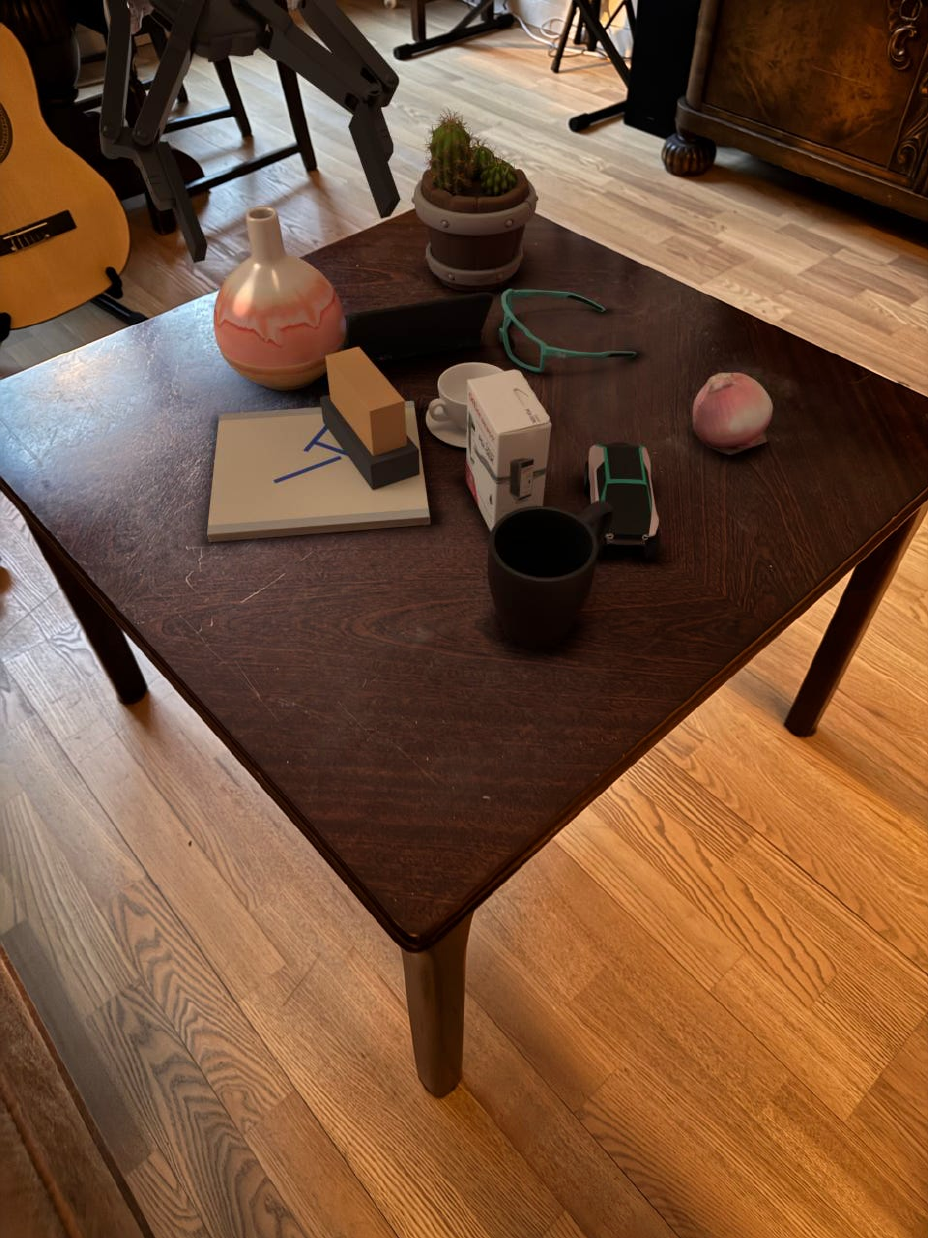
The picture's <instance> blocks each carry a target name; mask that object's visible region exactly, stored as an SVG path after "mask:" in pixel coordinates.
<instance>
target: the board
mask: <svg viewBox="0 0 928 1238" xmlns="http://www.w3.org/2000/svg"><path fill="white" fill-rule="evenodd" d="M405 416H406V434H407V436H408V437H409V438H410V439H411V440H412V442H413V443H414V444H415V445H416V447H417V448H418V449H419V468H420V474H419V475H416V476H413V477H410V478H407V479H404V480H401V481H398V482H395V483H393V484H390V485H387V486H384V487H381V488H378V489H375V490H372V489H371V487H370V486H369V485H368V483H367V482H366V480H365V479H364V478H363V476H362V475H361V474H360V472H359V471H358V469H357V468H356V467H355V465H354V464H353V463H352V461H351V460H350V458H349V457H348V456H347V454H346V453H345V452H344V450H343V449H342V447H341V446H340V445H339V443H338V442H337V441H336V439H335V438H334V436H333V435H332V434H331V432H330V431H329V430H328V428H327V427H326V425H325V424H324V423H323V418H322V410H321V406H318V407H316V406H315V407H303V408H290V409H289V408H288V409H277V410H276V409H273V410H260V411H259V410H258V411H257V410H256V411H245V412H230V413H219V414H218V425H217V434H216V435H217V436H216V445H215V454H214V463H213V464H214V465H213V472H212V473H213V475H212V484H211V491H210V492H211V493H210V501H209V502H210V503H209V511H208V512H209V513H208V521H207V531H206V535H207V539H208V542H209V543H213V542H226V541H238V540H252V539H265V538H279V537H290V536H300V535H301V536H302V535H313V534H326V533H338V532H340V533H341V532H350V531H351V532H352V531H362V530H376V529H388V528H401V527H402V528H403V527H413V526H427V525H431V515H430V508H429V501H428V494H427V485H426V479H425V473H424V466H423V459H422V451H421V444H420V443H421V442H420V438H419V430H418V423H417V416H416V408H415V402H414V400H407V401H406V400H405Z"/></svg>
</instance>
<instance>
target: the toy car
mask: <svg viewBox="0 0 928 1238" xmlns="http://www.w3.org/2000/svg"><path fill="white" fill-rule="evenodd" d="M583 469H584V471H583V489H584V491H587V492H589V493H590V495H589V497H590V504H592V503H594V502H595V501H598V500H604V501H606V502H608V503H609V504H610V505H611V506H612V509H613V518H612V522H611V525H610V527H609V530H608V532H607V534H606V537H605V539H604V541H603V543H602V545H601V547H600V549H599V551H598V554H597V558H598V557H601V556H602V555H603V550H604V549H603V548H604V546H606V545H613V546H614V545H615V546H617V545H618V546H637V545H638V546H641V547H642V551H643V557H644V558H647V559H656V558H657V557H658V556H659V552H660V547H661V534H660V533H661V532H660V528H659V522H660V518H659V515H658V512H657V509H656V503H655V497H654V491H653V490H654V489H653V485H652V478H651V475H652V473H651V472H652V468H651V460H650V455H649V453H648V450H647V448H646V447H645V446H644V445H641V444H640V445H639V444H637V445H635V444H634V445H632V444H630V443H627V442H625V441H613V442H610V443H607V444H598V443H596V444H593V445H592V446H591V447H590V448H589V451H588V460H586V461H585V464H584V468H583ZM590 527H591V528H592V527H593V524H591V525H590Z"/></svg>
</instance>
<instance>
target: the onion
mask: <svg viewBox="0 0 928 1238" xmlns="http://www.w3.org/2000/svg"><path fill="white" fill-rule="evenodd" d="M773 411H774V406H773V402H772V399H771V397H770V395H769V393H768V392H767V391H766V389H765V388H764V387H763V386H762V385H761V384H760V383H759V382H758V381H757V380H755V379H754V378H753V377H751V376H749V375H747V374H745V373H742V372H719V373H716V374H715V375H712V376H710V377H709V379H708V380H707V381H706V383H705V384H704V385H703V386H702V387H701V389H700V390H699V392H698V393H697V395H696V397H695V399H694V402H693V406H692V427H693V431H694V433H695V435H696V436H697V438H698V439H699V440H700V441H701V442H702V443H704V444H705V445H706V446H707V447H708V448H710V449H713V450H715V451H718V452H720V453H723V454H724V455H725V454H726V455H729V456H731V455H734V454H737V453H740V452H742V451H745V450H748V449H750V448H753V447H756V446H759V445H762V444H765V443H767V442H768V441H767V437H766V434H765V430H766V429H767V427H768V426H769V425H770V423H771V420H772V416H773Z"/></svg>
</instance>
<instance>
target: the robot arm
mask: <svg viewBox="0 0 928 1238" xmlns="http://www.w3.org/2000/svg"><path fill="white" fill-rule="evenodd" d="M285 1H286V2H287V4H288V6H289V9H290V10H292V11H295V12H297V11H298V13H299V15H300V17H301V18H302V20H303V21H304V23H305V24H306V25H307V26H308V28H309V29H310V30H311V31H312V32H313V33H314V34H315V36H316V37H317V38H318V39H319V40H320V41H321V42H322V44H323V45H322V44H321V43H320V42H319V41H317V40H316V39H315V38H313V37H312V36H310V34H308V33H307V32H306V31H304V30H303V29H302V28H300V27H299V26H298V25H297V24H296V23H295V22H294V19H293V17H292V16H291V14H290V13H288V12H287V11H286V10H285V9H283V8H282V7H281V6H280V5H278V4H277V3H276V2H275V0H103V1H102V2H103V13H104V18H105V22H106V26H107V29H108V34H107V35H108V36H107V47H106V56H105V65H104V76H103V85H102V95H101V107H100V115H99V124H98V125H99V126H98V130H99V141H100V150H101V153H102V155H103V156H104V157H105V158H107V159H109V160H116V159H119V158H125V159H130V160H132V161H133V163H134V165H135V166H136V167H137V168H138V169H140V172H141V175H142V178H143V180H144V183H145V185H146V187H147V190H148V193H149V196H150V198H151V200H152V203H153V205H154V206H155V207H156V209H157V210H158V211H159V212H163V211H166V210H171V209H172V211H173V213H174V216H175V218H176V219H175V220H176V221H177V224H178V226H179V229H180V231H181V234H182V237H183V240H184V242H185V245H186V247H187V249H188V252H189V255H190V258H191V260H192V263H193V264H197V263H200V262H205V261H206V257H207V256H206V255H207V249H208V241H207V239H206V237H205V234H204V230H203V229H202V227H201V223H200V221H199V218H198V216H197V213H196V210H195V208H194V205H193V202H192V200H191V197H190V195H189V192H188V189H187V187H186V184H185V181H184V178H183V176H182V173H181V171H180V169H179V165H178V164H177V161H176V158H175V155H174V153H173V151H172V148H171V145H170V143H169V140H167V141H161V138H162V136H163V133H164V131H165V128H166V126H167V123H168V121H169V118H170V116H171V113H172V110H173V108H174V105H175V102H176V100H177V97H178V95H179V93H180V91H181V90H180V89H181V87H182V86H183V82H184V80H185V77H186V76H187V75H188V73H189V70H190V68H191V65H192V63H193V60H194V58H195V55H196V56H197V57H199V58H202V59H206V60H207V61H208V63H209V64H210V63H213V62H215V63H216V62H219V61H222V60H224V59H226V58H228V57H239V58H245V57H251V56H254V53H255V51H257V50H259V51H260V52H262V53H263V54H264V55H266V56H267V57H268V58H270V59H271V60H273V61H275V62H278V61H280V62H282V63H283V64H285V65H286V66H287V67H289V68H290V69H291V70H293V71H294V72H295V73H296V74H298V75H299V76H300V77H301V78H303V79H304V80H306V81H307V82H308V83H310V84H311V85H312V86H313V87H315V88H316V89H318V90H319V91H320V92H322V94H324V95H325V96H327V97H328V98H329V99H331V100H332V101H334V102H335V103H336V104H337V105H339V106H340V107H341V108H343V109H344V110H345V111H347V112H348V113H349V114H351V118H350V121H349V123H348V126H347V128H348V130H349V133H350V136H351V139H352V142H353V145H354V147H355V150H356V153H357V156H358V159H359V160H360V161H359V162H360V164H361V167H362V170H363V173H364V175H365V178H366V181H367V184H368V187H369V189H370V192H371V195H372V198H373V202H374V204H375V206H376V210H377V212H378V215H379V218H380V219H382V220H383V219H386V218H390V217H391V216H392V214H393V213H394V211H395V210H396V208H397V207H398V205H399V203H400V202H401V199H402V198H401V196H400V193H399V191H398V187H397V184H396V181H395V179H394V176H393V173H392V170H391V167H390V164H389V162H390V160H391V158H392V156H393V154H394V153H395V152H394V149H395V147H394V146H395V145H394V142H393V139H392V136H391V133H390V131H389V127H388V125H387V121H386V119H385V116H384V115H385V114H384V113H383V109H382V108H387V107H389V105H390V103H391V101H392V100H393V98H394V96H395V93H396V91H397V89H398V87H399V85H400V77H399V75H398V74H397V73H396V71H395V69H393V67H391V65H390V64H389V63H388V62H387V61H386V60H385V58H384V57H383V56H382V55H381V54H380V52H379V51H378V50H377V49H376V47H374V45H372V43H371V42H370V40H368V39H367V37H366V36H365V35H364V34H363V33H362V32H361V30H360V29H359V28H358V27H357V25H356V24H355V23H354V22H353V21H352V20H351V19H350V18H349V16H348V15H347V14H346V13H345V11H344V10H343V9H342V8H341V7H340V6H339V5H338V4H337V2H336V1H335V0H285ZM147 15H148V16H150V17H151V19H152V20H153V21H155V23H157V24H158V25H159V26H160V27H162V29H164V30H165V31H166V32H167V33H169V35H168V38H167V42H166V46H165V49H164V51H163V54H162V55H161V58H160V62H159V64H158V67H157V69H156V71H155V74H154V76H153V79H152V82H151V85H150V87H149V90H148V92H147V94H146V97H145V100H144V102H143V105H142V107H141V109H140V113H139V115H138V117H137V119H136V122H135V125H134V127H129V126H125V121H126V120H125V119H126V110H127V109H126V108H127V100H128V91H129V90H128V89H129V81H130V71H131V58H132V35H135V34H136V33H137V32H139V31H140V30H141V29H142V21H143V18H144V17H145V16H147ZM268 27H270V28H271V30H272V32H270V30H269V29H268ZM160 141H161V142H160Z"/></svg>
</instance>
